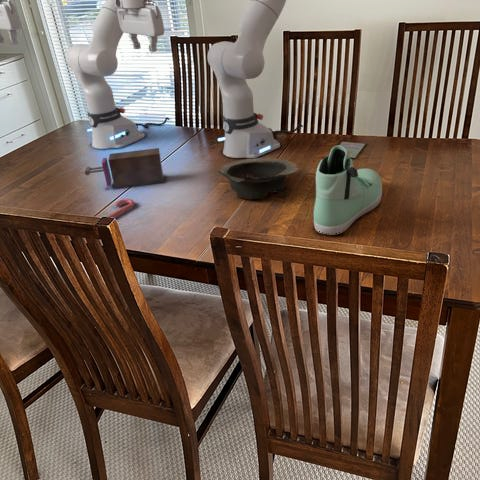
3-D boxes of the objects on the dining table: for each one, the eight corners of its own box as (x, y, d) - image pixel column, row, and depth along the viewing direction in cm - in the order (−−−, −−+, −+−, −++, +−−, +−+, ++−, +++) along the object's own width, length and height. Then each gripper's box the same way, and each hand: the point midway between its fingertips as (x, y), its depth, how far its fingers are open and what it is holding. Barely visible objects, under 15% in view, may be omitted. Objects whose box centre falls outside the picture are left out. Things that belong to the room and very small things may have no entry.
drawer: (88, 188, 162) (82, 165, 157) (89, 183, 165) (84, 160, 161) (152, 180, 164) (148, 157, 159) (152, 175, 168) (148, 152, 163)
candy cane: (88, 221, 143) (87, 216, 143) (125, 200, 153) (124, 196, 153) (102, 225, 140) (101, 221, 139) (138, 204, 150) (137, 200, 150)
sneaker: (389, 187, 148) (396, 123, 138) (356, 242, 123) (361, 168, 112) (346, 181, 154) (350, 119, 144) (306, 232, 129) (307, 161, 118)
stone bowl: (243, 213, 140) (240, 183, 136) (209, 189, 160) (205, 162, 156) (313, 190, 149) (312, 161, 144) (272, 170, 169) (270, 144, 165)
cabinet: (114, 188, 162) (108, 160, 157) (115, 181, 167) (109, 153, 162) (163, 182, 164) (159, 153, 159) (163, 175, 169) (158, 147, 163)
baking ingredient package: (331, 154, 173) (342, 141, 184) (330, 155, 173) (342, 142, 185) (355, 156, 169) (365, 143, 181) (355, 158, 170) (365, 144, 181)
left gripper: (18, -4, 148) (31, 43, 155) (-11, -4, 160) (3, 40, 168) (-2, -2, 144) (13, 47, 152) (-30, -2, 156) (-15, 43, 164)
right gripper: (165, -1, 136) (172, 51, 143) (129, -2, 149) (137, 45, 156) (146, 2, 132) (154, 55, 139) (111, 0, 146) (120, 48, 153)
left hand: (7, 43), depth 160 cm, fingers open, 8 cm apart
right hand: (145, 50), depth 148 cm, fingers open, 8 cm apart
